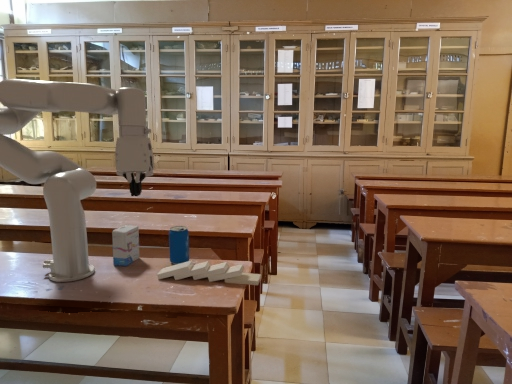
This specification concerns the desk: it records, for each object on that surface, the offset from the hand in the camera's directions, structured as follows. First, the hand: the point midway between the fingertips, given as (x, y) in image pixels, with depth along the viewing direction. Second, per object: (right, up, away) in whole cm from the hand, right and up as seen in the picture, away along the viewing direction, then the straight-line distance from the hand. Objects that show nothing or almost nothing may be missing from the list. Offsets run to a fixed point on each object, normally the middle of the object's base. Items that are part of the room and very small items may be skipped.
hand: (136, 195), depth 103 cm
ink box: (-8, -23, +16) cm, 29 cm away
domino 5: (+27, -25, +2) cm, 37 cm away
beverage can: (+10, -23, +16) cm, 29 cm away
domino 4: (+22, -25, +3) cm, 33 cm away
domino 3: (+17, -24, +4) cm, 30 cm away
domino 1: (+6, -24, +4) cm, 25 cm away
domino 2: (+11, -24, +3) cm, 27 cm away
